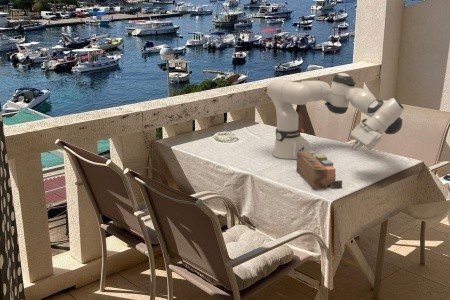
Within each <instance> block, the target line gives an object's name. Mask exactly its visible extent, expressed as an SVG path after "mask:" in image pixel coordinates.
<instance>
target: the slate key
mask: <svg viewBox="0 0 450 300" xmlns="http://www.w3.org/2000/svg"><path fill="white" fill-rule="evenodd" d="M321 164H322V165H323V166H325V167H328V166H333V167H334V162H333V160H331V159H330V160H329V159H327V160H326V161H321Z"/></svg>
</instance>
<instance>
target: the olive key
mask: <svg viewBox="0 0 450 300" xmlns="http://www.w3.org/2000/svg"><path fill="white" fill-rule="evenodd" d="M314 157H315V158H316V159H317V160H318V161H319V162H320V163H321V161H326V160H328V157H327V156H326V155H325V154H317V155H315V156H314Z"/></svg>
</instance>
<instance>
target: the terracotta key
mask: <svg viewBox="0 0 450 300" xmlns="http://www.w3.org/2000/svg"><path fill="white" fill-rule="evenodd" d="M326 168H327V169H328V170H327V187H328V186H329V187H330V181H336V176H335V175H336V168H335V167H334V165H333V166H328V167H326Z"/></svg>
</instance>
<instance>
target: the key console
mask: <svg viewBox="0 0 450 300" xmlns="http://www.w3.org/2000/svg"><path fill="white" fill-rule="evenodd" d="M327 170H328V169H327V168H326V167H325V166H323V165H322V164H321V163H320V162H319V161H318V160H317V159H316V158H315V156H314V155H313V154H311V153H310V152H300V153H297V159H296V170H295V171H296V172H297V173H298V174H299V175H300V176H301V177H302V178H303V179H304V181H306V183H307V185H309V186H310V188H312V189H313V190H326V189H327V187H328V186H327ZM336 175H337V174H335V177H336ZM342 187H343V180H335V181H330V186H329V189H342Z"/></svg>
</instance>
